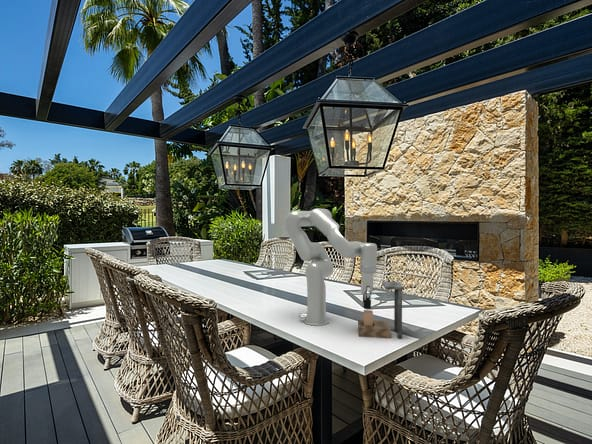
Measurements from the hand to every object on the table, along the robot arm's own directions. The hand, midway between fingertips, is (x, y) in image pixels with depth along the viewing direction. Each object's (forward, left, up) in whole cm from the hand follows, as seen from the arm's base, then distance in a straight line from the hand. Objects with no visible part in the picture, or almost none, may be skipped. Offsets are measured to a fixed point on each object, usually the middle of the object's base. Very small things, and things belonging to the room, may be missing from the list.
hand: (366, 305), depth 156 cm
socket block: (+6, 0, -13) cm, 14 cm away
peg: (+1, 0, -13) cm, 13 cm away
